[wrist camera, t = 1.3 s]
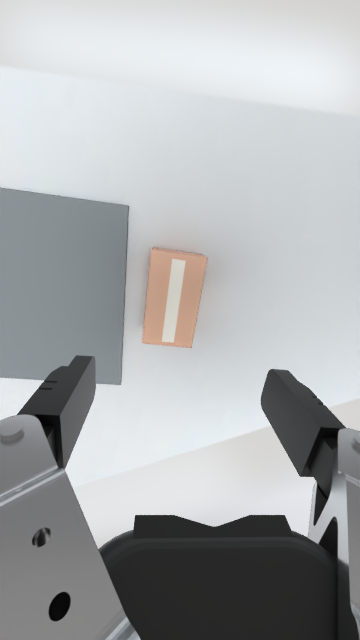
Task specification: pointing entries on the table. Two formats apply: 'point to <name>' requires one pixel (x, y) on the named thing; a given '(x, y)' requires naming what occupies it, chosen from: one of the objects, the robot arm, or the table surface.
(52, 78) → the table surface
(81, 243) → the mat
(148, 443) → the table surface
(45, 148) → the table surface
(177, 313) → the box
